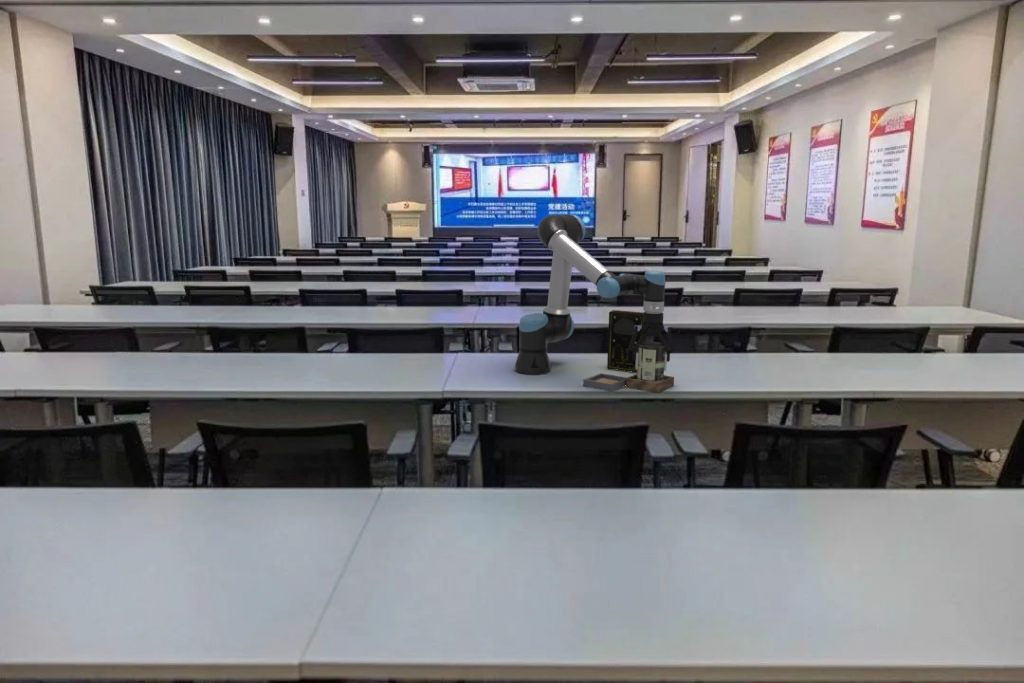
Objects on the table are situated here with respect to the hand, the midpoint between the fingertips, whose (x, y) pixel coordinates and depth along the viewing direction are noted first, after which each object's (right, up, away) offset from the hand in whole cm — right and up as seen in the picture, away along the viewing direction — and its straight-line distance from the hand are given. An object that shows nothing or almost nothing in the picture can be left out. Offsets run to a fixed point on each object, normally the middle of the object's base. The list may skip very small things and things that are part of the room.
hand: (650, 369), depth 263 cm
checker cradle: (-17, -6, +3) cm, 18 cm away
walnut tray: (0, -7, +1) cm, 7 cm away
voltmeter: (-5, -2, +27) cm, 28 cm away
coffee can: (0, -4, +1) cm, 4 cm away
